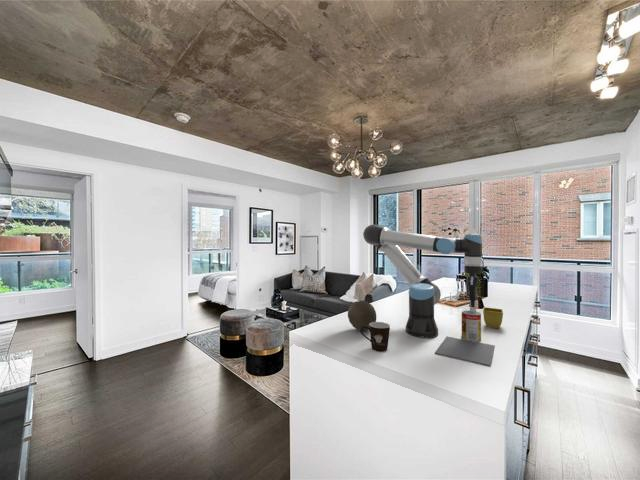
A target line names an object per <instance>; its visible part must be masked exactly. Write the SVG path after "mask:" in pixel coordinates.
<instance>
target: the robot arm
mask: <svg viewBox="0 0 640 480" xmlns="http://www.w3.org/2000/svg"><path fill="white" fill-rule="evenodd" d="M362 233H363V234H362V235H363V240H364V241H365V242H366V243H367V244H368V245H372V246H375V247H376V249H377V250H378V252H383V254H384V255H385V256H386V257H387V259H388V260H389V261H390V263H392V265H393V266H394V268H396V270H397V271H398V272H399V273H400V275H401V276H402V278H403V279H404V280H405V281H406V282H407V283H408V285H409V288H408V318H407V321H406V324H405V333H406V334H408V335H410V336H413V337H416V338H417V337H418V338H424V339H425V338H428V339H429V338H437V336H438V335H439V329H438V326H437V323H436V320H435V305H437V304H438V303H439V301H440V299H441V289H440V288H439V286H438V285H436V284H435V283H433V282H432V281H431V280H430V279H429V278H428V277H427V276H425V275H422V273H421V272H420V270H419V269H418V268H417V267H416V266H415V265H414V264H413V262H412V261H411V260H410V259H409V258H408V256H407V255H406V254H405V252H404V251H403V250H402V249H401V248H400V247H404V248H410V249H416V250H422V251H429V252H435V253H439V254H440V253H441V254H443V255H449V254H464V260H463V261H464V271H463V272H464V273H465V274H469V276H468V277H467V280H468V292H469V293H468V295H469V297H468V298H467V300H468V301H469V311H476V312H477V301H478V300H479V298H477V297H478V296H477V295H478V292H477V291H478V289H477V288H478V281H479V277H478V276H477V275H482V273H483V266H482V264H483V261H484V259H483V239H482V235H481V234H479V233H467V234H466V233H465V234H464V236H463V237H461V238H459V237H445V236H444V237H443V236H436V235H429V234H420V233H415V232H414V233H413V232H405V231H398V230H392V229H390V228H389V227H388V226H386V225H382V224H370V225H368V226H367V227H365V229H364V231H363V232H362Z"/></svg>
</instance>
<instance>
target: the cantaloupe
mask: <svg viewBox="0 0 640 480" xmlns="http://www.w3.org/2000/svg"><path fill="white" fill-rule="evenodd" d="M347 318H348V321H349V323H350V324H351V327H353V328H354V329H356V330H358V331H360V330H361V328H362V327H363V326H366V327H368V328H369V324H370V323H372V322H377V311H376V309H375V308H374V305H372V304H371V303H370V302H368V301H366V300H359V301H358V300H357V301H354V302H352V303H351V304H350V306H349V308H348V309H347ZM366 331H369V330H368V329H367V328H363V329H362V332H366Z"/></svg>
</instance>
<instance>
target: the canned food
mask: <svg viewBox="0 0 640 480" xmlns="http://www.w3.org/2000/svg"><path fill="white" fill-rule="evenodd" d="M461 339H463V340H469V341H474V342H481V340H482V313H481V312H479V311H477V310H476V311H470V310H461Z"/></svg>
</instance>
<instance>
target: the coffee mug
mask: <svg viewBox="0 0 640 480" xmlns="http://www.w3.org/2000/svg"><path fill="white" fill-rule="evenodd" d="M390 327H391V325H390V324H389V323H387V322H383V321H376V322H372V323H370V324H369V328H368V327H366V326H363V327H362V328H361V330H359V331H360V333H361V335H362V336H363V337H364V338H365V339H367V340H368V341H369V342H370V344H371V345H370V346H371V350H373V351H374V352H378V353H384V352H386V351H387V352H388V348H389V347H388V346H389V339H390V337H389V336H390V329H391V328H390ZM363 328H367V329H368V330H367V331H368V332H369V334H370V336H369V337H370V338H369V337H367V335H365V334H364V333H363V331H362V329H363Z"/></svg>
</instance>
